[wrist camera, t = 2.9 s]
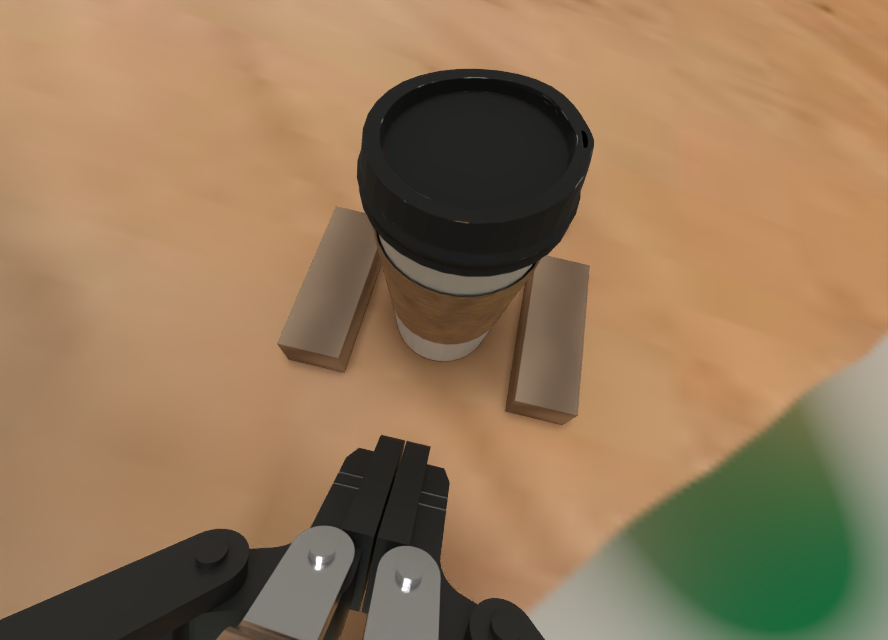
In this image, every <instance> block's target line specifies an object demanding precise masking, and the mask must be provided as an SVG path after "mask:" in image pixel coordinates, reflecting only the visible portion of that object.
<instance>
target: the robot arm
mask: <svg viewBox="0 0 888 640" xmlns="http://www.w3.org/2000/svg"><path fill="white" fill-rule="evenodd" d="M404 444H405V440H401V439H396V438H392V437H388V436H384V435H381V436H380V438H379V441H378V443H377V446H376V448H375V450H374V451H370V450H366V449H362V448H358V449H357V450H356V451H354V452H353V453H352V454H350V455H349V456H348V457H346V459H345V461H344V463H343V465H342V467H341V469H340V471H339V473H338V475H337V477H336V479H335V481H334V484H333V485H332V487H331V489H330V491H329V493H328V495H327V496H326V498H325V500H324V502H323V504H322V506H321V508H320V510H319V512H318V514H317V516H316V518H315V520H314V522H313V524H312V526H311V527H310V529H307V530H305V531H304V532H302V533H301V534H299V535H298V536H297V537H296V538H295V540H294V541H293V542H292V543H290V544H288V545H285V546H281V547H274V548H258V549H249V545H248V543H247V540H246V539H245V538H244V537H243V536H242V535H241V534H240V533H238V532H236V531H233V530H228V529H214V530H209V531H205V532H202V533H200V534H197V535H195V536H193V537H190V538H188V539H186V540H183V541H181V542H179V543H177V544H174V545H172V546H170V547H167V548H165V549H163V550H160V551H158V552H156V553H154V554H151V555H149V556H147V557H144V558H142V559H140V560H137V561H135V562H133V563H130V564H128V565H126V566H124V567H121V568H119V569H117V570H114V571H112V572H110V573H107V574H105V575H103V576H100V577H98V578H96V579H94V580H91V581H89V582H87V583H84V584H82V585H80V586H77V587H75V588H73V589H70V590H68V591H66V592H64V593H61V594H59V595H57V596H54V597H52V598H50V599H47V600H45V601H43V602H40V603H38V604H36V605H34V606H31V607H29V608H27V609H24V610H22V611H20V612H17V613H15V614H13V615H10V616H8V617H6V618H4V619H1V620H0V640H338V639H339V637H340V635H341V633H342V630H343V628H344V625H345V622H346V618H347V615H348V612H349V609H351V610H355V611H359V609H360V606H361V603H362V599H363V596H364V592H365V589H366V586H367V589H366V594H365V598H364V603H363V608H362V612H364V613H368V615H367V620H366V624H365V629H364V633H363V638H362V640H545V639H544V638H543V636H542V635H541V634H540V632H539V631H538V630H537V629H536V627H535V626H534V624H533V623H532V621H531V620H530V619H529V617H528V616H527V615H526V614H525V613H524V612H523V611H522V610H521V609H520V608H519V607H518V606H516V605H515V604H513V603H511V602H509V601H507V600H504V599H499V598H491V599H486V600H484V601H482V602H480V603H479V604H478V605H477V604H476V603H474V602H472V601H471V600H469V599H468V598H466V597H464V596H463V595H461V594H460V593H458V592H457V591H456V590H455V589H454V588H453V587H452V586H451V585H450V584H449V583H448V581H447V580H446V578H445V576H444V574H443V572H442V569H441V564H440V555H441V547H442V539H443V531H444V523H445V515H446V507H447V498H448V491H449V483H450V482H449V480H448V477H447V475H446V472H445V470H444V468H440V467H436V466H432V465H428V464H427V461H428V456H429V451H430V446H426V445H422V444H417V443H413V442H409V441H407V442H406V445H405V449H404ZM403 449H404V452H403ZM402 454H403V455H402ZM367 582H368V584H367Z"/></svg>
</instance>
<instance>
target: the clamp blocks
mask: <svg viewBox="0 0 888 640" xmlns="http://www.w3.org/2000/svg"><path fill="white" fill-rule="evenodd" d="M380 266H381V259H380V255H379V252H378V248H377V244H376V240H375V236H374V231H373V226H372V225H371V223H370V221H369V219H368V217H367V215H366V213H363V212H358V211H354V210H350V209H345V208H341V207H337V206H336V207H335V210H334V212H333V214H332V217H331V219H330V221H329V224H328V226H327V228H326V231H325V233H324V235H323V238H322V240H321V242H320V245H319V247H318V249H317V252H316V254H315V256H314V259H313V261H312V263H311V266H310V268H309V270H308V273H307V275H306V277H305V280H304V282H303V284H302V287H301V289H300V291H299V294H298V296H297V298H296V301H295V303H294V305H293V308H292V310H291V312H290V315H289V317H288V319H287V322H286V324H285V326H284V329H283V331H282V333H281V336H280V338H279V340H278V343H277V344H278V345H279V347H280V348H281V350H282V351H283V352H284V354H285V355H286V356H287V358H288V359H291V360H295V361H299V362H303V363H307V364H311V365H316V366H320V367H324V368H328V369H332V370H336V371H341V372H345V369H346V366H347V363H348V360H349V357H350V354H351V351H352V348H353V345H354V342H355V339H356V336H357V333H358V331H359V328H360V325H361V322H362V319H363V316H364V313H365V310H366V307H367V304H368V301H369V298H370V295H371V292H372V290H373V287H374V284H375V281H376V278H377V275H378V272H379V269H380ZM589 268H590V266H589V265H585V264H581V263H576V262H572V261H568V260H564V259H559V258H555V257H551V256H545V257H543V258H541V260H540V262H539V263H538V265H537V267H536V269H535V270H534V271H533V273H532V274H531V275H530V277H529V278H528V279H527V281H526V283H525V289H524V295H523V302H522V308H521V314H520V321H519V327H518V333H517V340H516V346H515V353H514V359H513V365H512V372H511V378H510V384H509V391H508V397H507V403H506V410H505V411H507V412H511V413H515V414H519V415H524V416H528V417H532V418H536V419H540V420H544V421H549V422H553V423H557V424H561V425H563V424H564V423H566V422H568V421H569V420H571V419H573V418H574V417H576V416H578V405H579V392H580V380H581V367H582V355H583V343H584V330H585V318H586V305H587V293H588V280H589Z"/></svg>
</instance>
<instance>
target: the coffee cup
mask: <svg viewBox="0 0 888 640" xmlns="http://www.w3.org/2000/svg"><path fill="white" fill-rule="evenodd" d="M593 148H594V139H593V136H592V133H591V131H590V129H589V128H588V126H587V124H586V122H585V121H584V119H583V117H582V116H581V114H580V113H579V111H578V110H577V109H576V107H575V106H574V105H573V104H572V103H571V102H570V101H569V100H568V99H567V98H566V97H565V96H564V95H563V94H562V93H560V92H559V91H557V90H556V89H554V88H553V87H552V86H550V85H547V84H545V83H543V82H541V81H539V80H536V79H533V78H530V77H526V76H523V75H519V74H515V73H509V72H504V71H497V70H485V69H454V70H445V71H437V72H433V73H428V74H424V75H420V76H417V77H414V78H412V79H409V80H406V81H404V82H402V83H400V84H398V85H397V86H395V87H393V88H392V89H390V90H388V91H387V92H386V93H385V94H384V95H383V96H382V97H381V98H380V99H379V100H378V101H377V102H376V103H375V104H374V106H373V107H372V109H371V110H370V112H369V113H368V115H367V118H366V121H365V124H364V127H363V134H362V146H361V151H360V154H359V158H358V164H357V180H358V184H359V192H360V196H361V201H362V205H363V209H364V211H365V213H366V215H367V217H368V219H369V221H370V223H371V225H372V226H373V231H374V236H375V240H376V244H377V248H378V252H379V255H380V259H381V263H382V267H383V270H384V274H385V278H386V282H387V285H388V289H389V293H390V297H391V300H392V304H393V308H394V310H395V315H396V320H397V324H398V328H399V332H400V334H401V336H402V338H403V340H404V341H405V342H406V344H407V345H408V346H409V347H410V348H411V349H412V350H413V351H414V352H416V353H417V354H419V355H421V356H423V357H425V358H428V359H431V360H436V361H452V360H457V359H460V358H462V357H464V356H467V355H468V354H470V353H471V352H473V351H474V350H475V349H476V348H477V347H478V346H479V345H480V343H481V342H482V340H483V339H484V337H485V336H486V334H487V333H488V331H489V330H490V328H491V327H492V326H493V325H494V324H495V322H496V321H497V320H498V318H499V317H500V316H501V314H502V313H503V312H504V310H505V309H506V308H507V306H508V305H509V304H510V302H511V301H512V300H513V298H514V297H515V296H516V294H517V293H518V292H519V290H520V289H521V287H522V286H523V285H524V283H525V282H526V281H527V279H528V278H529V277H530V275H531V274H532V273H533V271H534V270H535V269H536V267H537V265H538V263H539V262H540V260H541V258H543V257H545V256H546V255H548V254H549V253H550V252H551V251H552V249H553V248H554V247H555V246H556V245H557V244H558V243H559V242H560V241H561V239H562V238H563V236H564V234H565V232H566V231H567V229H568V227H569V225H570V223H571V221H572V220H573V218H574V216H575V215H576V211H577V208H578V204H579V201H580V191H581V188H582V186H583V183H584V180H585V177H586V174H587V171H588V168H589V165H590V161H591V157H592V153H593Z"/></svg>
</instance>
